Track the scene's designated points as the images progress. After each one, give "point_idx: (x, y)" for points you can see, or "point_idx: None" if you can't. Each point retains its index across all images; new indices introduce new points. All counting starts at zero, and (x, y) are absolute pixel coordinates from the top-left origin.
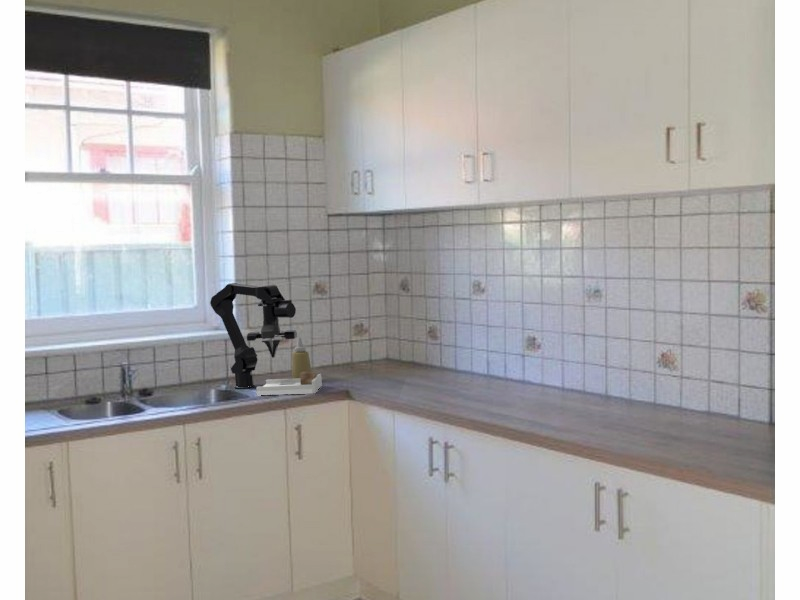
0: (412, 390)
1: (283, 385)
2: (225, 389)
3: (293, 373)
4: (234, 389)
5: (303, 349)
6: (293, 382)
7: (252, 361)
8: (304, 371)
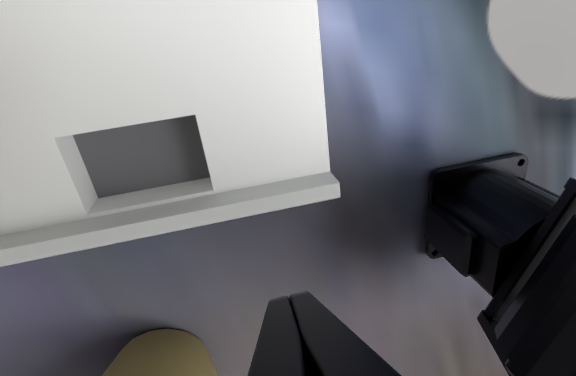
0: None
1: (136, 89)
2: (571, 143)
3: (192, 374)
4: (520, 142)
5: None
6: (110, 214)
7: (557, 311)
8: None
